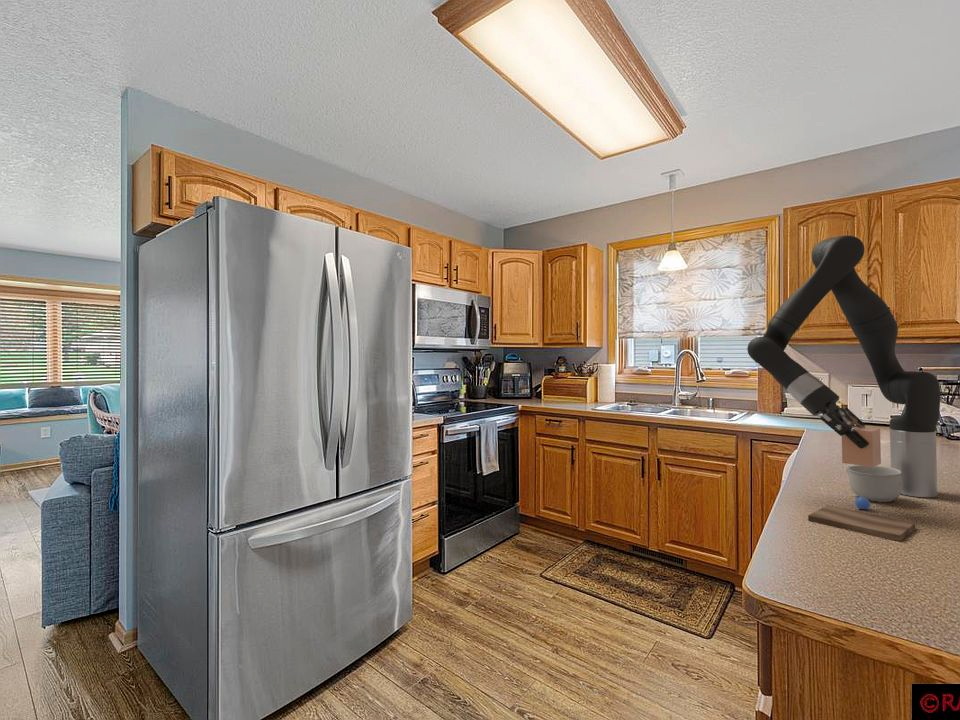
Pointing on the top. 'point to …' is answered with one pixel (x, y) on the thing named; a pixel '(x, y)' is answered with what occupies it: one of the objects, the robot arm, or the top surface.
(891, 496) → the teacup
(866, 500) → the marble
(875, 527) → the board
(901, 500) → the top surface
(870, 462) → the peach colored cube
